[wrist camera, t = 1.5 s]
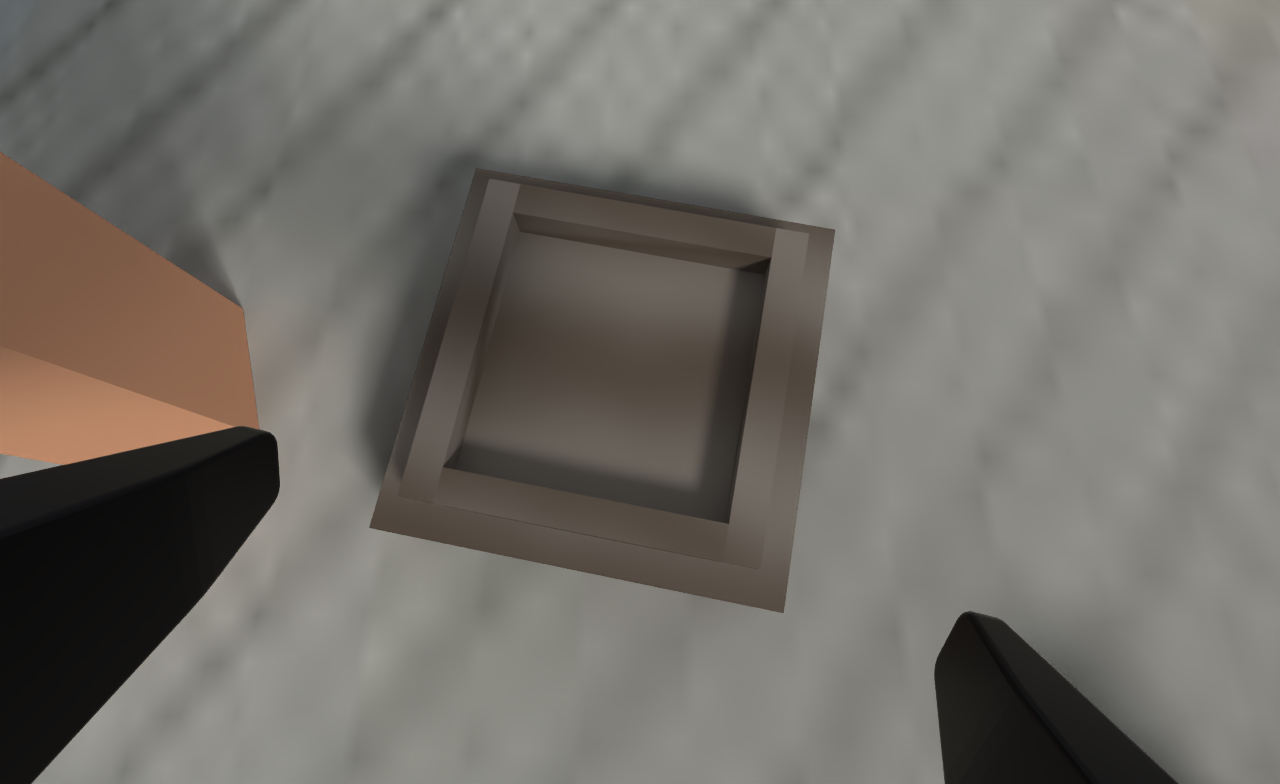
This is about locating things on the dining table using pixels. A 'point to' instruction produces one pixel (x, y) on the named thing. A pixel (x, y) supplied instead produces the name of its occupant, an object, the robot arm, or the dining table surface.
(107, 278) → the terracotta column
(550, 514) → the base block
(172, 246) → the dining table surface
